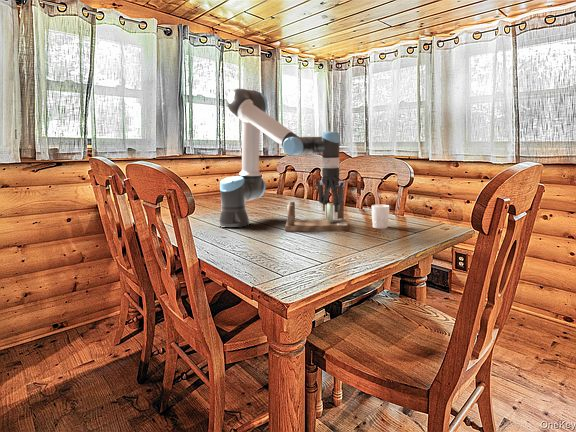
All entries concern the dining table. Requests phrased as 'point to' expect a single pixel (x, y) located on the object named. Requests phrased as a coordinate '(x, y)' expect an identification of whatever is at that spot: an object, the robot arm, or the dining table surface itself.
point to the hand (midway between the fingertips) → (330, 218)
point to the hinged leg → (331, 213)
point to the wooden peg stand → (314, 222)
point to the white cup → (380, 216)
